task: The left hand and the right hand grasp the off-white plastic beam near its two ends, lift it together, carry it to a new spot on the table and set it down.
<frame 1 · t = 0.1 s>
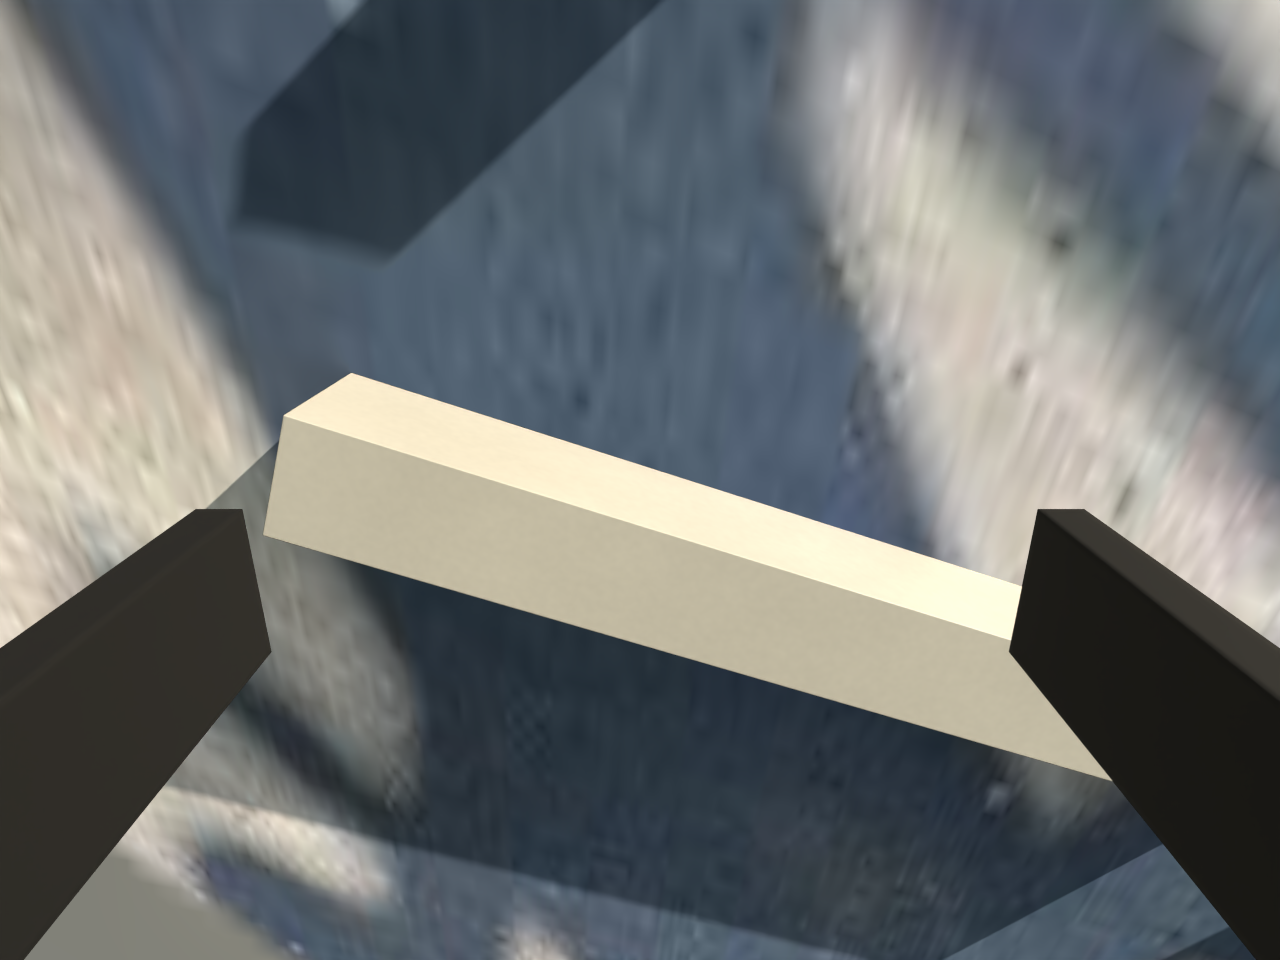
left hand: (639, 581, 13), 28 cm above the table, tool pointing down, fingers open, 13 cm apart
beam: (879, 591, 44), on the table
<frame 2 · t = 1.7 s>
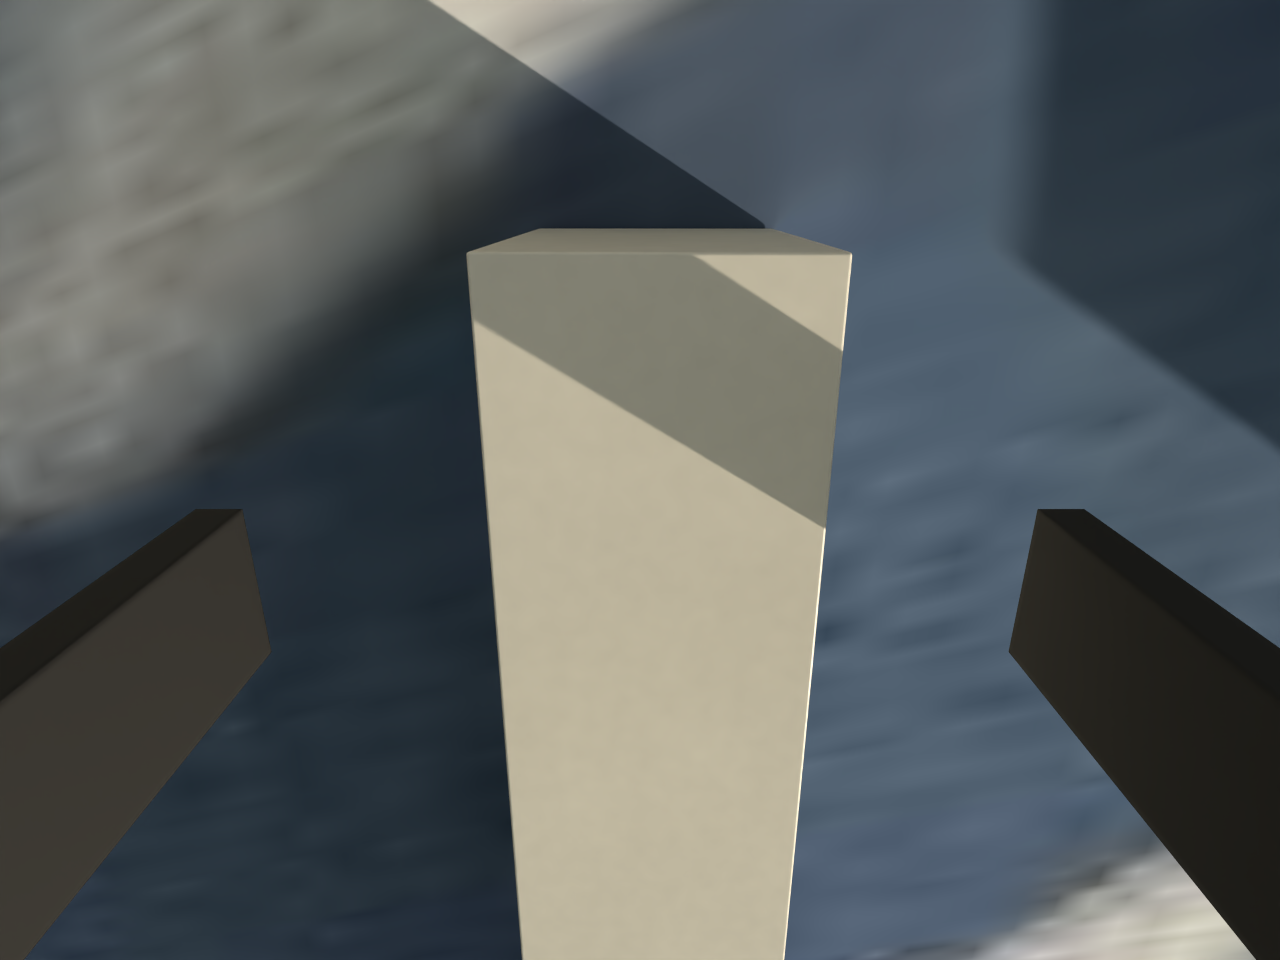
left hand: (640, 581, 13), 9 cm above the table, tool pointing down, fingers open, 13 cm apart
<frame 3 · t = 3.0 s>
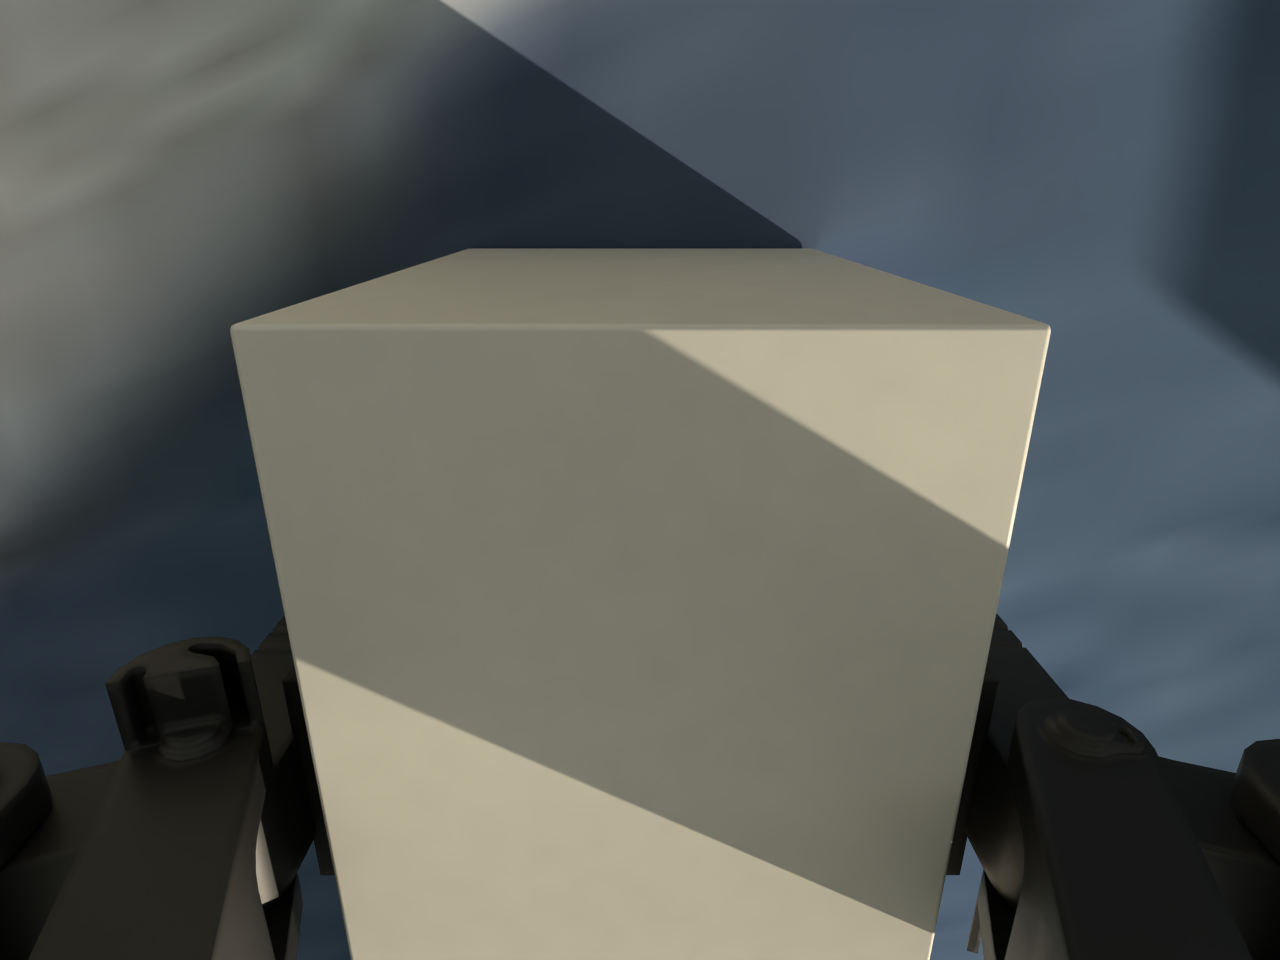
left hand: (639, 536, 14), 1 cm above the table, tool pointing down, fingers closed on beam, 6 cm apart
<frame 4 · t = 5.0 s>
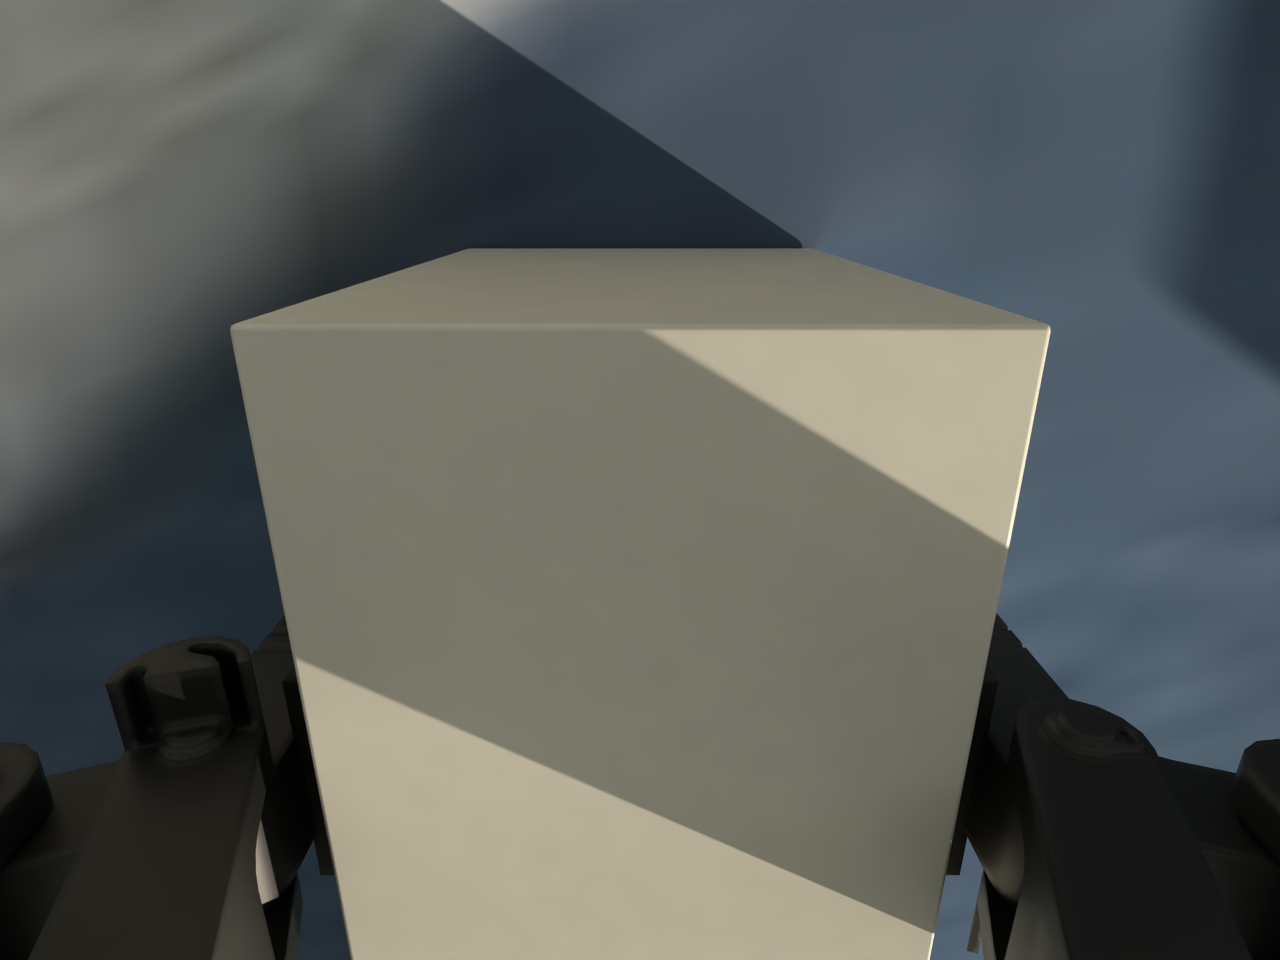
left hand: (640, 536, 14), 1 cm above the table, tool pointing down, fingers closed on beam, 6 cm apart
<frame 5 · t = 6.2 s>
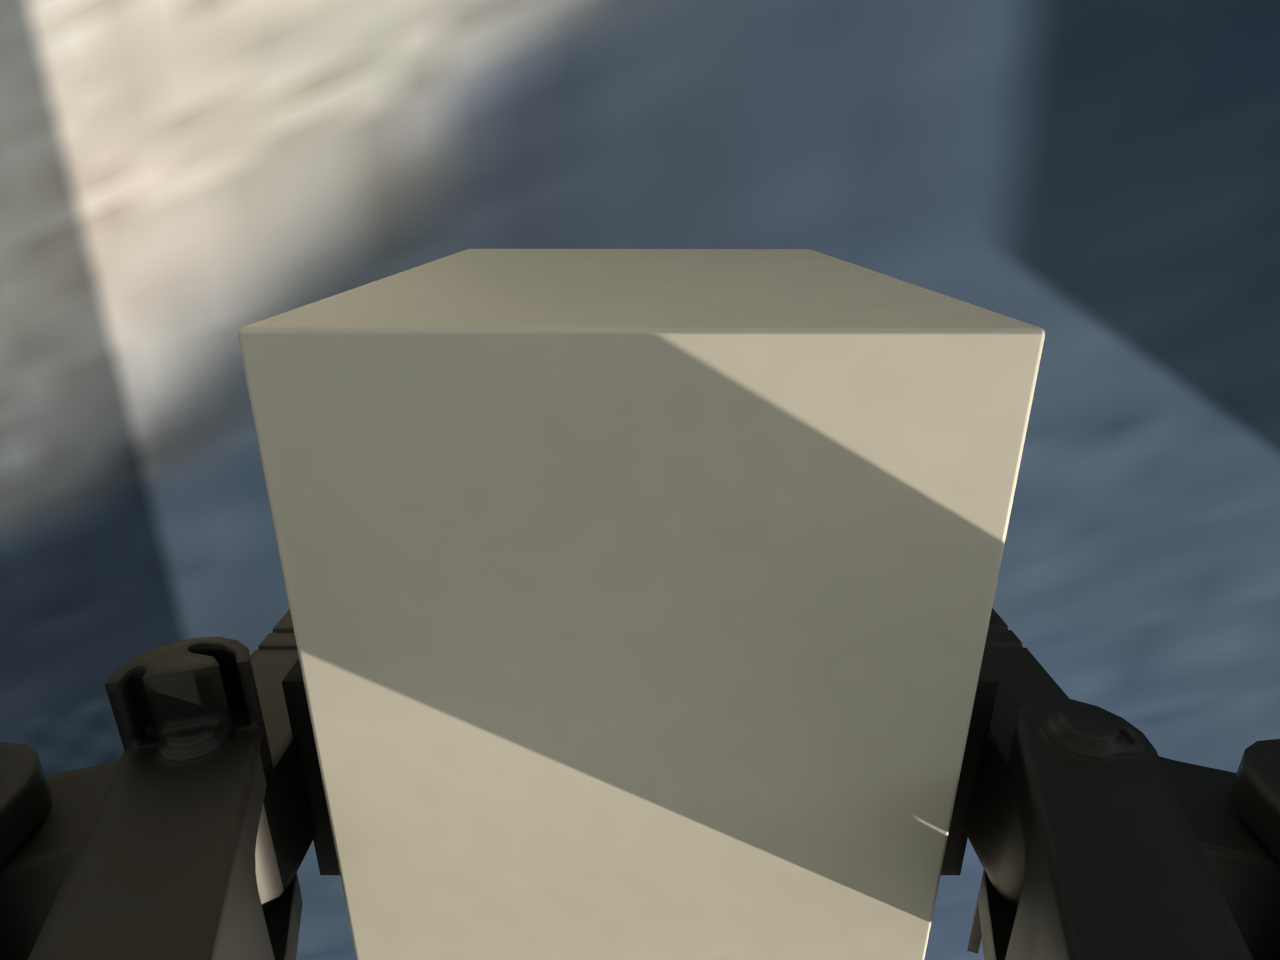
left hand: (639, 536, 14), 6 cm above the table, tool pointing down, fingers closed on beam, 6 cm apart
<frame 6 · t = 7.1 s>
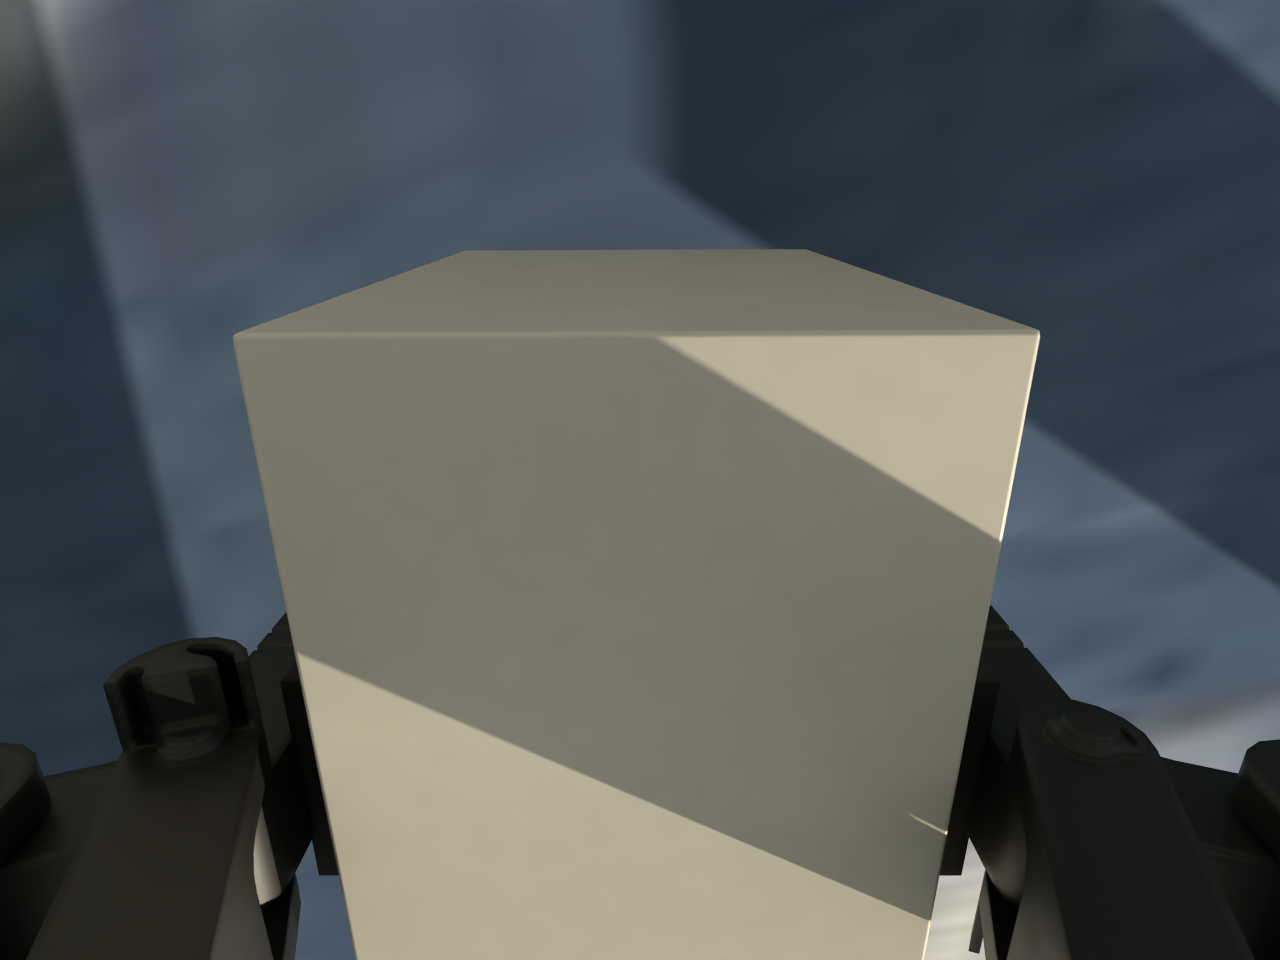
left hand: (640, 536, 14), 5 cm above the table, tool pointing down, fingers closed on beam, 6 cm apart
when the left hand's fingers open (2 cm above the table, at t = 9.2 s): beam moves 1 cm, on the table.
when the right hand's fingers open (4 cm above the table, at t = 9.4 s): beam stays where it is, on the table.
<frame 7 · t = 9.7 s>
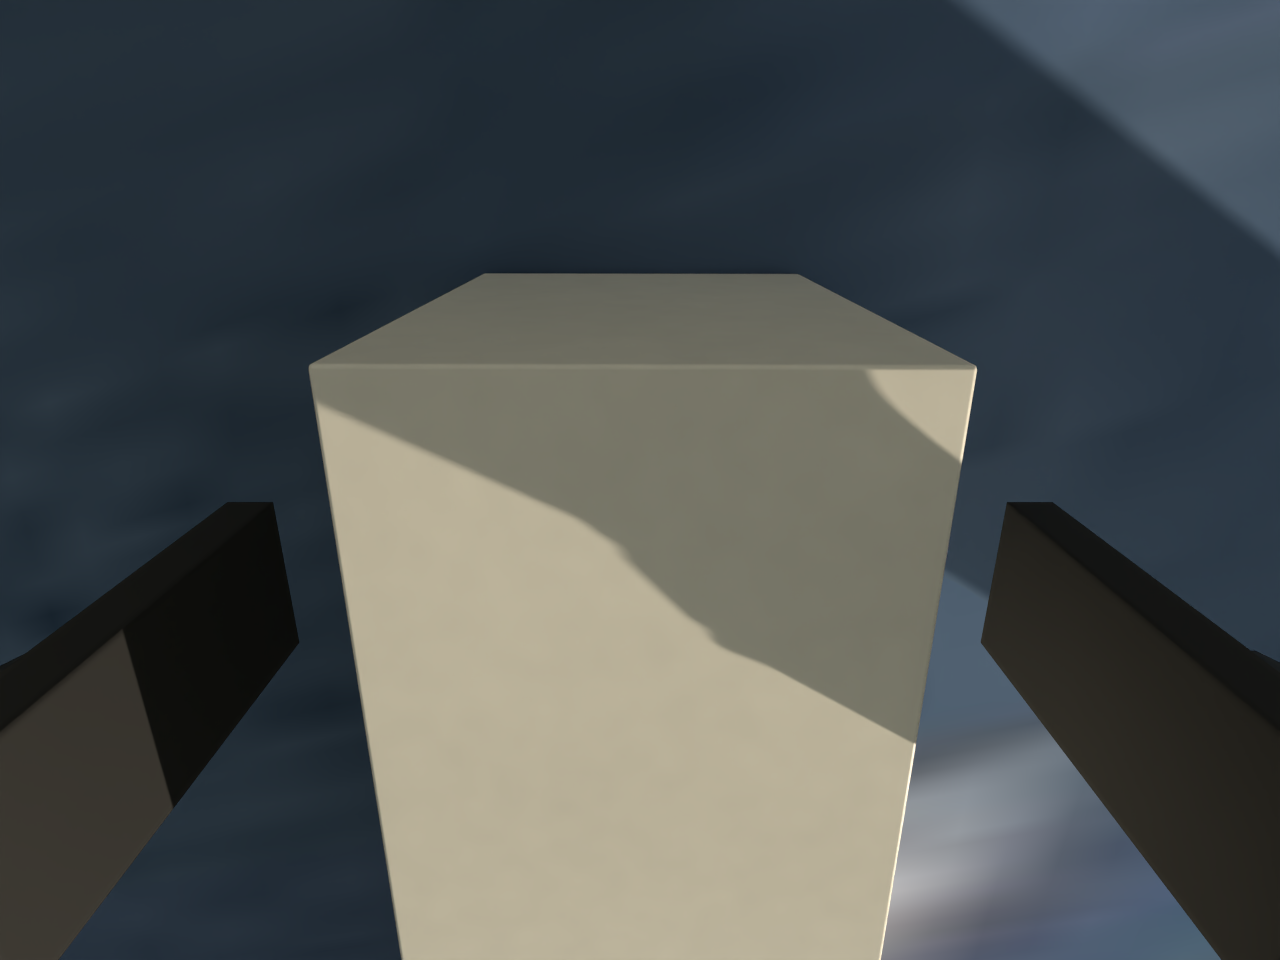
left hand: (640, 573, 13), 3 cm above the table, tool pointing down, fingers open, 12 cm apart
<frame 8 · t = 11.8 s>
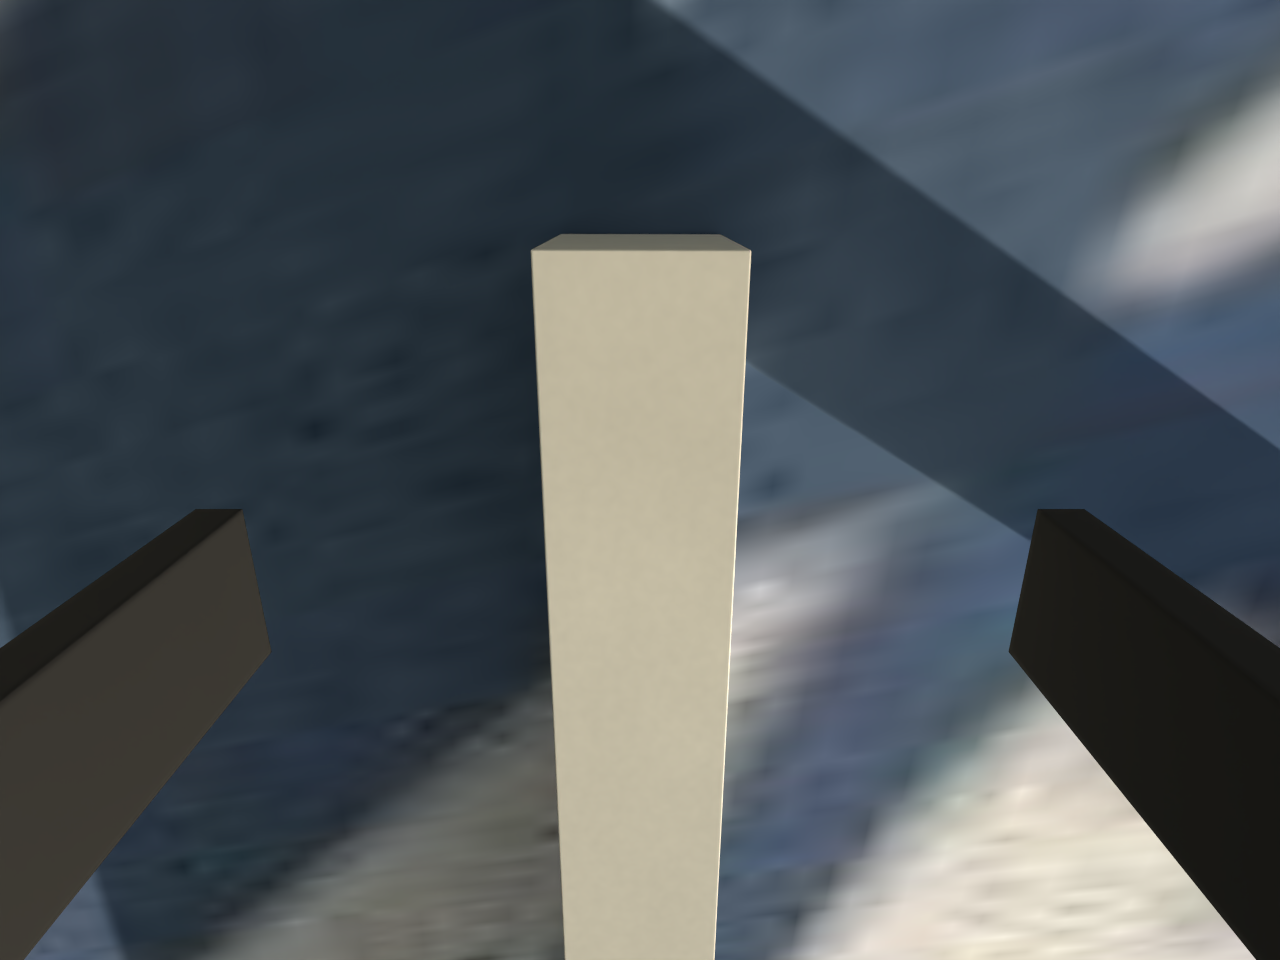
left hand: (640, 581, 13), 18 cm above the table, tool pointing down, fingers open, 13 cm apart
beam: (639, 877, 39), on the table
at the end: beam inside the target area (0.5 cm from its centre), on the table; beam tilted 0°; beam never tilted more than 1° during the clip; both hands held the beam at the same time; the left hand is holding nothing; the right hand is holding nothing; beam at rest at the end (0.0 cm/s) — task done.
